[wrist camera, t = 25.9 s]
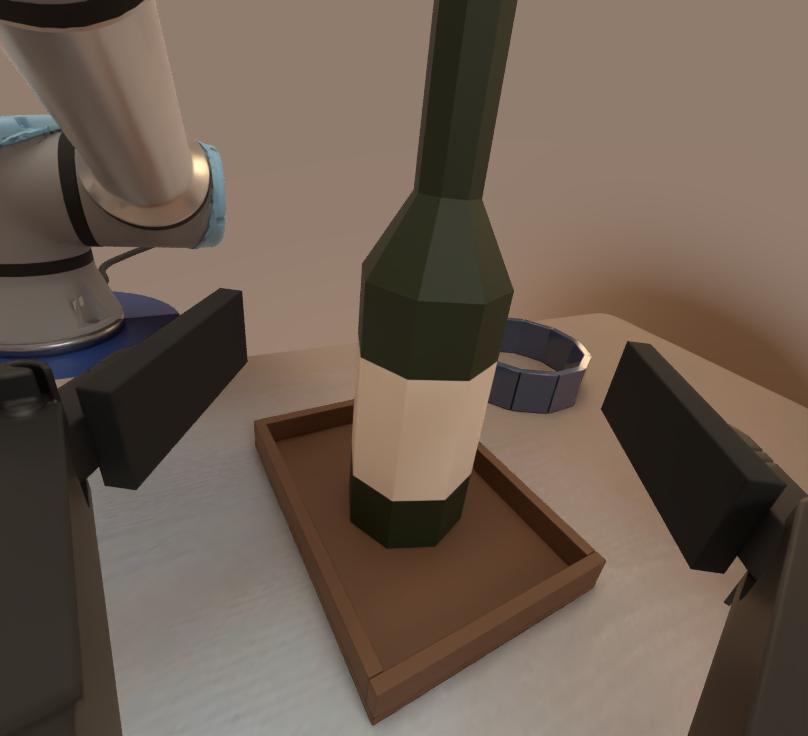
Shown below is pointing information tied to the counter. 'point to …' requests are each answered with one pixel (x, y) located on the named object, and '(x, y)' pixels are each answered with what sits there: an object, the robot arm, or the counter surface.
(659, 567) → the counter surface
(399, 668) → the tray
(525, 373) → the segmented polygonal ring
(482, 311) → the wine bottle
